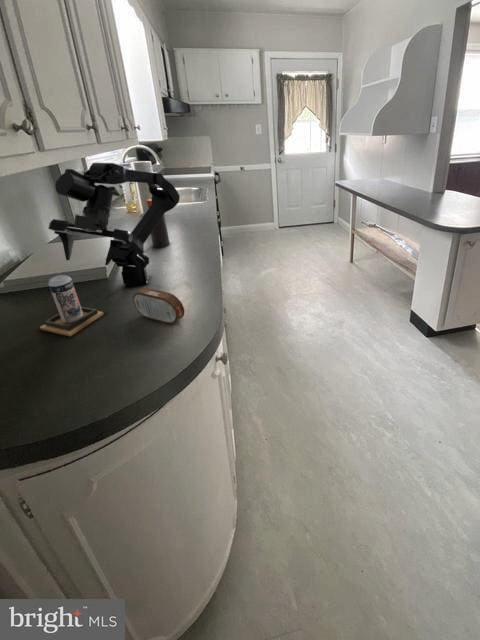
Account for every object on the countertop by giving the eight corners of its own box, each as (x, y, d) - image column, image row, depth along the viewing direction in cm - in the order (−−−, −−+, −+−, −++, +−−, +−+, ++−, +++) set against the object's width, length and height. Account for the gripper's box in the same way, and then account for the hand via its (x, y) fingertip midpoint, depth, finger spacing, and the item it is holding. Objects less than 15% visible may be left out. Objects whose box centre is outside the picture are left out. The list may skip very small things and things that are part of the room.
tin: (187, 321, 79) (182, 293, 76) (179, 328, 76) (173, 299, 73) (143, 310, 84) (137, 283, 81) (134, 316, 82) (127, 289, 78)
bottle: (154, 243, 135) (145, 198, 127) (170, 241, 136) (162, 197, 128) (152, 248, 128) (142, 201, 121) (169, 246, 130) (160, 200, 122)
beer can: (69, 325, 77) (54, 284, 72) (58, 321, 79) (42, 280, 74) (87, 315, 81) (74, 275, 76) (76, 312, 83) (62, 272, 78)
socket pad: (76, 308, 86) (74, 302, 85) (104, 314, 83) (102, 308, 82) (40, 329, 77) (37, 323, 76) (70, 336, 74) (67, 329, 73)
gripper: (45, 192, 73) (31, 255, 72) (129, 207, 79) (118, 266, 77) (63, 202, 84) (52, 258, 82) (137, 215, 89) (127, 267, 88)
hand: (87, 262), depth 82 cm, fingers open, 9 cm apart
